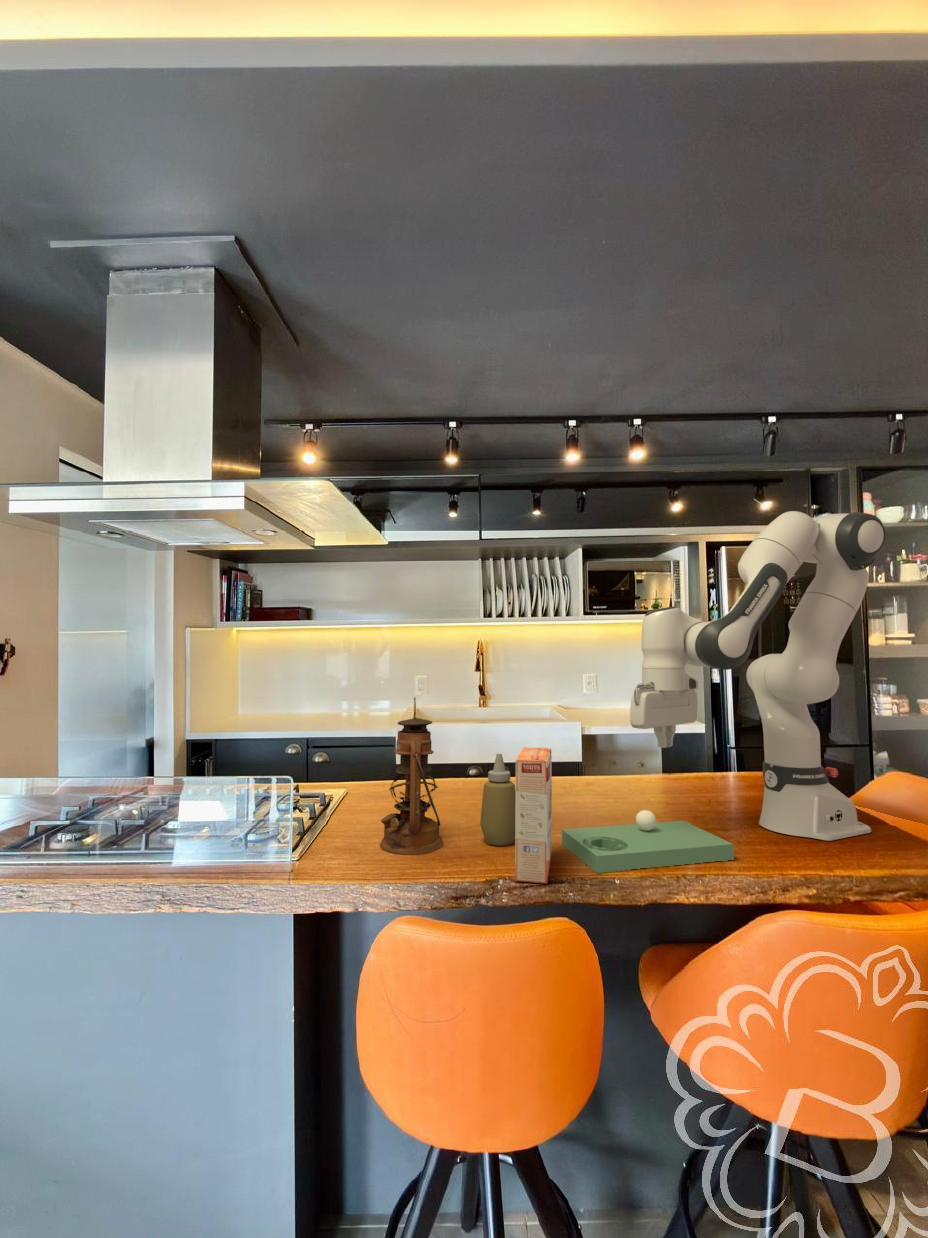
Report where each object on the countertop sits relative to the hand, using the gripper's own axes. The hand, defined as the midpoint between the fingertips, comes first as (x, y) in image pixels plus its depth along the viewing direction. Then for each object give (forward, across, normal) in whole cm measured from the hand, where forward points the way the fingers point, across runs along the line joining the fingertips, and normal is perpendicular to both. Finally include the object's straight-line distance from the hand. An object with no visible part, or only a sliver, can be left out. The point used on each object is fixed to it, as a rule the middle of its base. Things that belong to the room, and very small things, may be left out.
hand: (665, 746), depth 122 cm
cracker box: (+19, -34, +5) cm, 40 cm away
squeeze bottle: (+19, -30, +20) cm, 41 cm away
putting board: (+19, -11, -2) cm, 22 cm away
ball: (+14, -8, 0) cm, 16 cm away
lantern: (+19, -45, +31) cm, 57 cm away
